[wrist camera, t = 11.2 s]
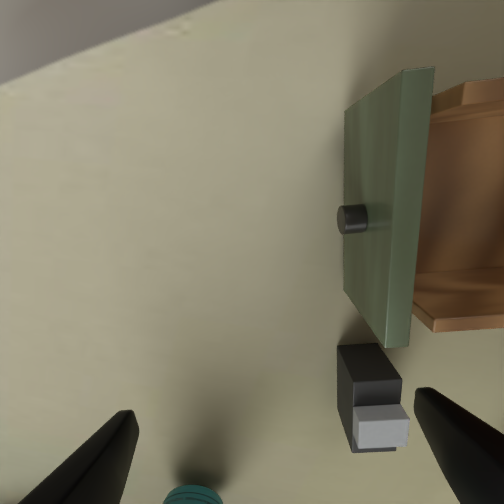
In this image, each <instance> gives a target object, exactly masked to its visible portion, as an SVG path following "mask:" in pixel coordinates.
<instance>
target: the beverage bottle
mask: <svg viewBox="0 0 504 504" xmlns="http://www.w3.org/2000/svg"><path fill="white" fill-rule="evenodd" d="M163 504H223V502H222V500H221V498H220V497H219V495H218V494H217V493H215V492H214V491H212V490H211V489H209V488H206V487H203V486H199V485H184V486H180V487H177V488H175V489H173V490H172V491H171V492H170V493H169V494H168V495H167V497H166V499H165V500H164V503H163Z"/></svg>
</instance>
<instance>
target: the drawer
mask: <svg viewBox="0 0 504 504" xmlns="http://www.w3.org/2000/svg"><path fill="white" fill-rule="evenodd" d="M434 73H435V67H434V66H431V67H423V68H415V69H407V70H402V71H401V72H399V73H398V74H396V75H395V76H394V77H392V78H391V79H389V80H388V81H386V82H385V83H384V84H382V85H381V86H379V87H378V88H376V89H375V90H373V91H372V92H371V93H369V94H368V95H366V96H365V97H363V98H362V99H361V100H359V101H358V102H356V103H355V104H353V105H352V106H351V107H349V108H348V109H346V110H345V125H344V206H340V207H339V209H338V213H337V224H338V228H339V231H340V233H341V234H344V291H345V293H346V294H347V296H348V297H349V298H350V300H351V301H352V303H353V304H354V305H355V307H356V308H357V310H358V311H359V313H360V314H361V315H362V317H363V318H364V320H365V321H366V322H367V324H368V325H369V327H370V328H371V329H372V331H373V332H374V334H375V335H376V336H377V338H378V339H379V341H380V342H381V343H382V345H383V346H384V348H395V347H408V345H409V334H410V324H411V313H413V314H414V315H415V316H416V317H417V318H418V319H419V320H420V321H421V322H422V323H423V324H424V325H425V326H427V327H428V328H429V329H430V330H431V331H432V332H434V333H436V332H450V331H465V330H479V329H494V328H504V77H502V78H494V79H485V80H477V81H468V82H464V83H462V84H459V85H457V86H455V87H452V88H450V89H448V90H445V91H443V92H441V93H438V94H436V95H434V96H432V93H433V83H434Z"/></svg>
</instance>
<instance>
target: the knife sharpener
mask: <svg viewBox="0 0 504 504" xmlns="http://www.w3.org/2000/svg"><path fill="white" fill-rule="evenodd" d="M401 390H402V378H401V376H400V375H399V374H398V372H397V371H396V369H395V368H394V366H393V365H392V363H391V362H390V360H389V359H388V358H387V356H386V355H385V353H384V352H383V350H382V349H381V347H380V346H379V345H378V343H371V344H357V345H342V346H337V409H338V412H339V415H340V418H341V421H342V424H343V427H344V430H345V433H346V436H347V439H348V442H349V445H350V448H351V451H352V453H364V452H385V451H396V447H404V446H407V440H408V430H409V421H410V419H409V417H408V415H407V414H406V412H405V410H404V409H403V407H402V405H401V404H400V401H401Z"/></svg>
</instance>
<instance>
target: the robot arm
mask: <svg viewBox="0 0 504 504" xmlns="http://www.w3.org/2000/svg"><path fill="white" fill-rule="evenodd" d="M414 413H415V416H416V418H417V420H418V422H419V424H420V426H421V429H422V431H423V433H424V435H425V437H426V439H427V441H428V443H429V445H430V447H431V450H432V452H433V454H434V456H435V458H436V460H437V462H438V464H439V466H440V468H441V470H442V472H443V474H444V476H445V478H446V480H447V481H448V483H449V485H450V487H451V488H452V490H453V492H454V494H455V495H456V497H457V499H458V500H459V502H460V504H504V434H502V433H501V432H499V431H498V430H496V429H495V428H493V427H492V426H490V425H488V424H487V423H485V422H484V421H482V420H481V419H479V418H478V417H476V416H475V415H473V414H472V413H470V412H468V411H467V410H465V409H464V408H462V407H461V406H459V405H458V404H456V403H455V402H453V401H452V400H450V399H449V398H447V397H445V396H444V395H442V394H441V393H439V392H438V391H436V390H435V389H433V388H431V387H423V388H417V389H416V391H415V400H414ZM138 437H139V426H138V423H137V420H136V417H135V414H134V411H133V410H121V411H119V412H117V413H116V414H115V415H114V416H113V417H112V418H111V419H110V420H108V421H107V422H106V423H105V424H104V425H103V426H102V427H101V428H100V429H99V430H98V431H97V432H95V433H94V434H93V435H92V436H91V437H90V438H89V439H88V440H87V441H86V442H85V443H83V444H82V445H81V446H80V447H79V448H78V449H77V450H76V451H75V452H74V453H73V454H71V455H70V456H69V457H68V458H67V459H66V460H65V461H64V462H63V463H62V464H61V465H60V466H58V467H57V468H56V469H55V470H54V471H53V472H52V473H51V474H50V475H49V476H48V477H46V478H45V479H44V480H43V481H42V482H41V483H40V484H39V485H38V486H37V487H36V488H34V489H33V490H32V491H31V492H30V493H29V494H28V495H27V496H26V497H25V498H24V499H23V500H21V501H20V502H19V503H18V504H119V503H120V500H121V497H122V494H123V491H124V488H125V484H126V481H127V477H128V473H129V470H130V466H131V462H132V459H133V455H134V451H135V448H136V444H137V440H138Z"/></svg>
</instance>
